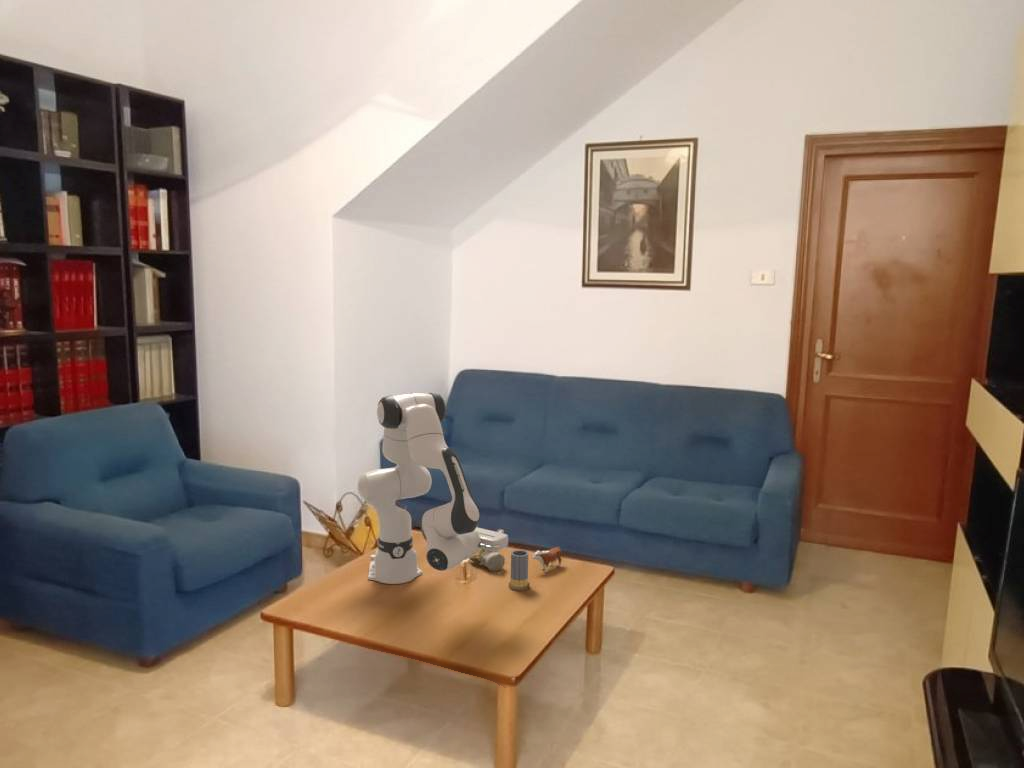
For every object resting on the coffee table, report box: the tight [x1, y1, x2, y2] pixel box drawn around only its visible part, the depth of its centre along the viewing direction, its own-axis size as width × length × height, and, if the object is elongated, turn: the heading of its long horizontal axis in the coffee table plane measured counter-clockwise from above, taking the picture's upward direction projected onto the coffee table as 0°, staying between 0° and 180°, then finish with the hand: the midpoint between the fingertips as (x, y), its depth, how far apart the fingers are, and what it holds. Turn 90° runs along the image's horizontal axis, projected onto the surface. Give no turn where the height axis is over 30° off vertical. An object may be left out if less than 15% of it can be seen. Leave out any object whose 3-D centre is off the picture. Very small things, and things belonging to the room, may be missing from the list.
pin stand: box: [508, 581, 530, 592], centre depth 262 cm, size 7×7×8 cm
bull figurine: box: [532, 546, 562, 574], centre depth 278 cm, size 4×13×8 cm, turn 132°
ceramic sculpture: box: [469, 549, 506, 572], centre depth 280 cm, size 11×9×15 cm
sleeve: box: [510, 549, 529, 588], centre depth 262 cm, size 6×6×11 cm
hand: (488, 528), depth 245 cm, fingers open, 8 cm apart
